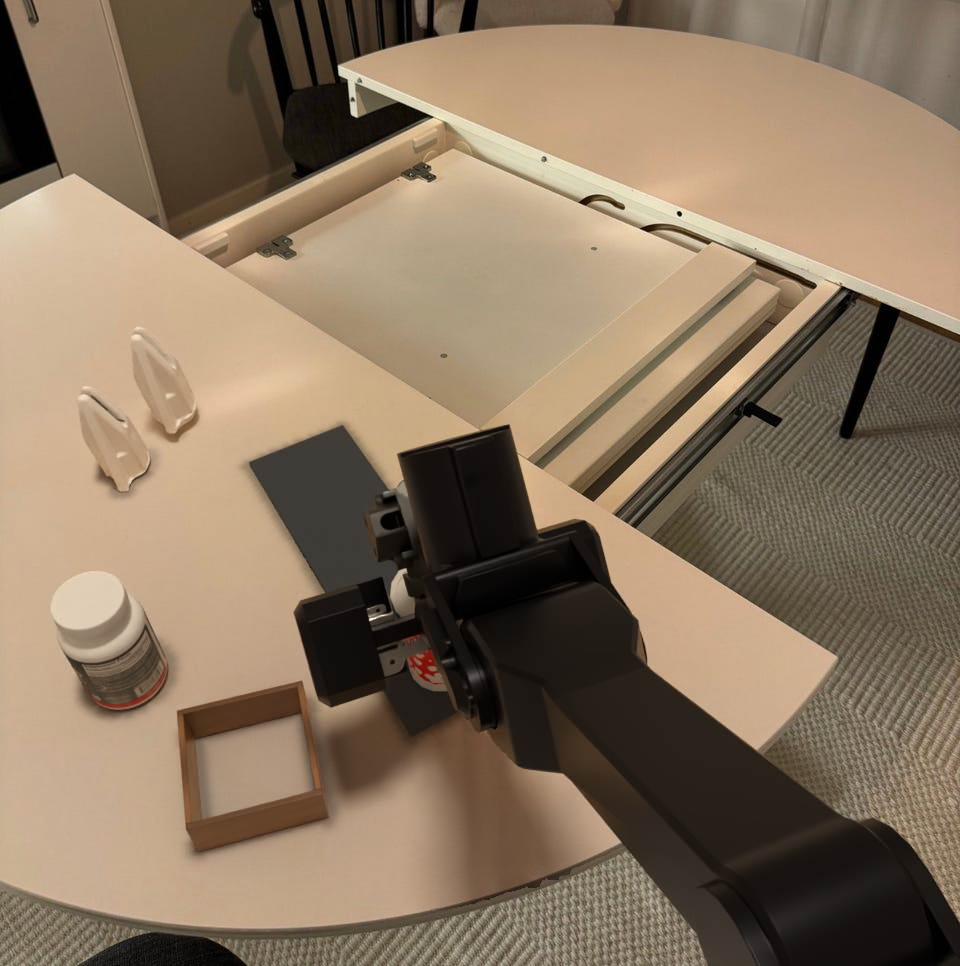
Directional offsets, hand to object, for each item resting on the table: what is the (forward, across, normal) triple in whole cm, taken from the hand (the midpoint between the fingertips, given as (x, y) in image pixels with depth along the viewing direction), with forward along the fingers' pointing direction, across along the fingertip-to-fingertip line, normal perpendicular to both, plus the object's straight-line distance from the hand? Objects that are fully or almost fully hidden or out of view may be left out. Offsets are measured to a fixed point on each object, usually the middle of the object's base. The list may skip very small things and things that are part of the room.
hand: (431, 591), depth 65 cm
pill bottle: (+10, +22, +1) cm, 24 cm away
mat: (+12, +2, -2) cm, 12 cm away
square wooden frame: (+2, +14, +9) cm, 17 cm away
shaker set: (+26, +16, -16) cm, 35 cm away
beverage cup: (+4, 0, +6) cm, 7 cm away
